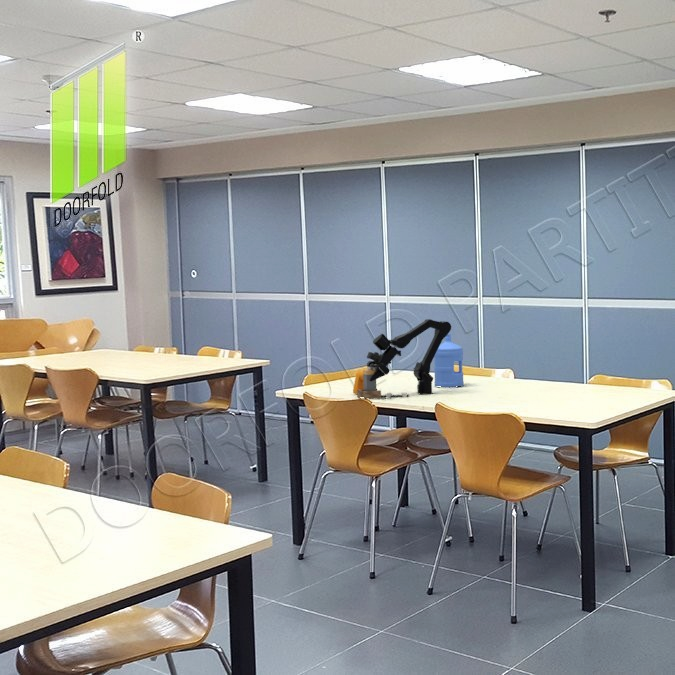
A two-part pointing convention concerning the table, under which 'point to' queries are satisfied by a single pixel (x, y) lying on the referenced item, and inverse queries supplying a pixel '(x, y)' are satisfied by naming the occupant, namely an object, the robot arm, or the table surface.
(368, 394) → the end cradle
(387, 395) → the cable clips
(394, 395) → the cable run
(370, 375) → the grey tall block
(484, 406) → the table surface
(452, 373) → the water jug
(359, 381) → the orange rounded lump
